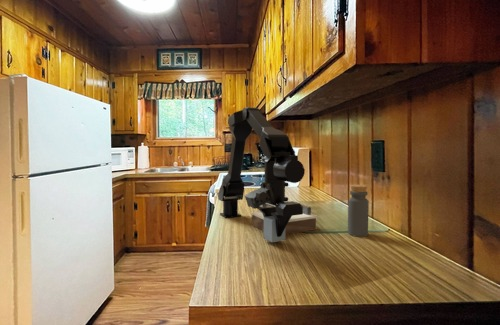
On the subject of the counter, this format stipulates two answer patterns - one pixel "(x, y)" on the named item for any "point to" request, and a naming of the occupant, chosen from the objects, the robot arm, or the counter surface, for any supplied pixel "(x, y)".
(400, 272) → the counter surface
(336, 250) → the counter surface
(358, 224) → the bottle
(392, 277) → the counter surface
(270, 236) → the blue gray block
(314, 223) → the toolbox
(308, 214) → the lid
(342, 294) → the counter surface
